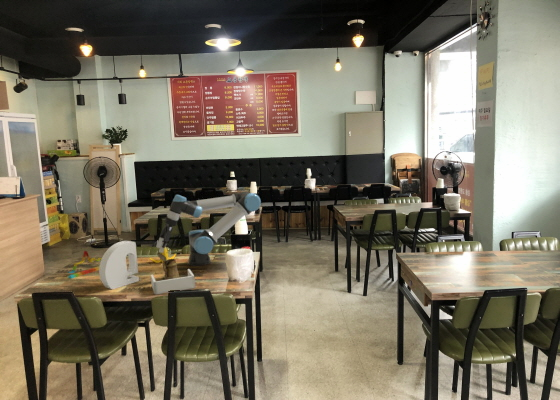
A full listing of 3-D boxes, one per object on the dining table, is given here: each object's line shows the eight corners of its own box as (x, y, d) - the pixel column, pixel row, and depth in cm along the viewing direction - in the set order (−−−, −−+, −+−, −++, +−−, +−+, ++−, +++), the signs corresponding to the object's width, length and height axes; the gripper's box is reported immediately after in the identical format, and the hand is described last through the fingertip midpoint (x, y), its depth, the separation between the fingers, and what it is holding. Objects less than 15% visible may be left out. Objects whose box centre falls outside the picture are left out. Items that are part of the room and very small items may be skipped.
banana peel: (176, 258, 308) (175, 235, 306) (169, 265, 289) (167, 241, 287) (154, 258, 308) (152, 236, 306) (145, 266, 290) (143, 242, 287)
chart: (108, 265, 296) (106, 244, 293) (111, 266, 294) (109, 245, 292) (68, 278, 270) (65, 255, 268) (71, 279, 268) (68, 256, 266)
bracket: (139, 281, 258) (135, 240, 255) (107, 291, 242) (102, 248, 239) (132, 279, 263) (129, 239, 259) (100, 288, 246) (96, 246, 243)
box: (190, 280, 256) (189, 269, 255) (195, 287, 242) (194, 276, 241) (151, 286, 247) (150, 274, 246) (154, 294, 233) (153, 282, 232)
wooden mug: (155, 280, 257) (153, 252, 255) (172, 274, 268) (170, 246, 266) (165, 283, 252) (163, 253, 250) (182, 276, 263) (180, 248, 261)
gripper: (163, 213, 278) (151, 243, 277) (169, 219, 255) (155, 252, 255) (174, 217, 281) (162, 247, 280) (181, 223, 258) (167, 256, 258)
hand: (159, 249), depth 267 cm, fingers open, 13 cm apart
